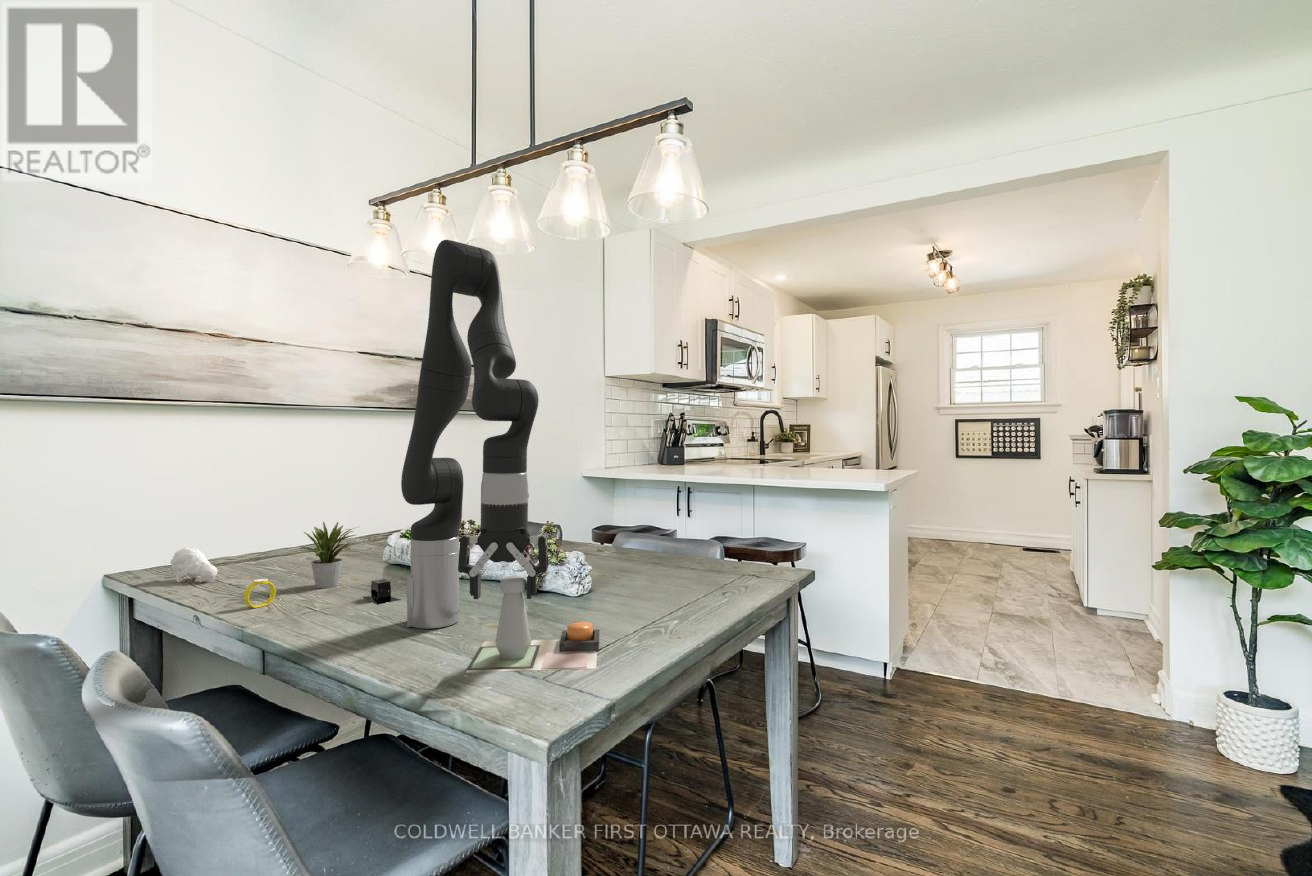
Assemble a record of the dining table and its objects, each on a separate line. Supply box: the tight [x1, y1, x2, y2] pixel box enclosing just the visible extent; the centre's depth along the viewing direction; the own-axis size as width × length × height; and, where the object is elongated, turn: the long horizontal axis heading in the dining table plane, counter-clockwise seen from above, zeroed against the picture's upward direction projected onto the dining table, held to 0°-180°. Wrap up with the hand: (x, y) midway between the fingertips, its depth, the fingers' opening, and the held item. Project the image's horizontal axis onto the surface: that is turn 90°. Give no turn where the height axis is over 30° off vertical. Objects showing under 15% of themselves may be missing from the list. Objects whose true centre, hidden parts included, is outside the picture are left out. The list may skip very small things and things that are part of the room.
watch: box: [243, 578, 277, 609], centre depth 133 cm, size 6×3×6 cm, turn 153°
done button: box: [566, 621, 594, 641], centre depth 105 cm, size 4×4×2 cm
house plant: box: [298, 521, 359, 589], centre depth 150 cm, size 14×14×16 cm
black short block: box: [362, 578, 402, 605], centre depth 139 cm, size 12×7×5 cm, turn 47°
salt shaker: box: [494, 575, 532, 660], centre depth 99 cm, size 6×6×13 cm
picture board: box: [465, 629, 600, 674], centre depth 100 cm, size 22×16×3 cm
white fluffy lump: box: [170, 546, 218, 584], centre depth 156 cm, size 6×8×12 cm
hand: (503, 598), depth 99 cm, fingers open, 8 cm apart
